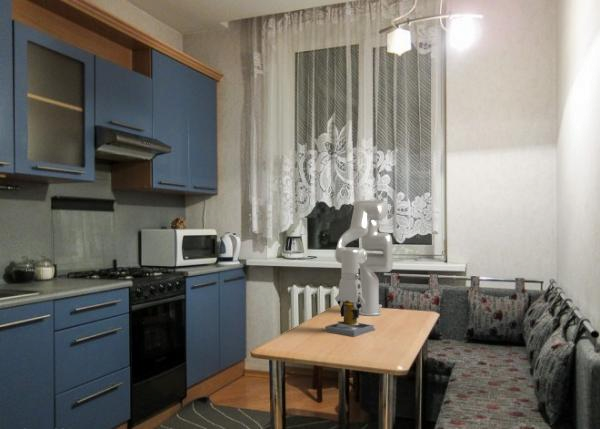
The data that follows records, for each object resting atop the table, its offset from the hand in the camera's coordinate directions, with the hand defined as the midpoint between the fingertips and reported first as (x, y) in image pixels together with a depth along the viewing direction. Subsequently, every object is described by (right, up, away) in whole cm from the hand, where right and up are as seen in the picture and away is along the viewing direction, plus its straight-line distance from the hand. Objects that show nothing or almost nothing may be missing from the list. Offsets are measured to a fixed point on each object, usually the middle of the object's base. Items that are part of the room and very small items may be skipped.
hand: (349, 316), depth 220 cm
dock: (0, -6, 0) cm, 6 cm away
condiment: (-1, -3, 0) cm, 3 cm away
